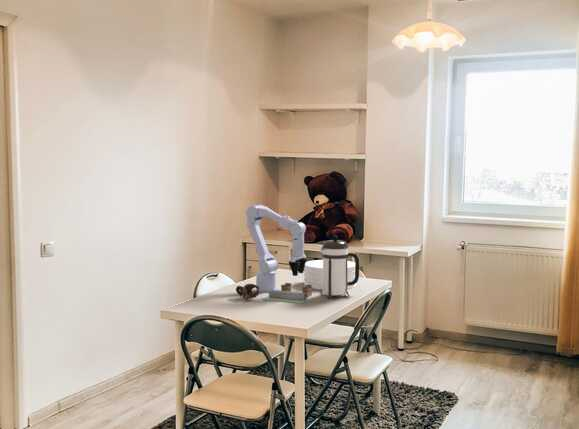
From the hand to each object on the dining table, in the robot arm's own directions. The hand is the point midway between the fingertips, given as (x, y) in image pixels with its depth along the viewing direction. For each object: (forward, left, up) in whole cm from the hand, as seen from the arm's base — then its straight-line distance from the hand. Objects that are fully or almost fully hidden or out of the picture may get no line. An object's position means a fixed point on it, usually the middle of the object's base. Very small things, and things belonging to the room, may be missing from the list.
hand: (298, 274), depth 311 cm
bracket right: (+6, -2, -10) cm, 12 cm away
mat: (-1, -14, -10) cm, 17 cm away
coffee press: (+19, +4, -10) cm, 22 cm away
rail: (0, -12, -8) cm, 15 cm away
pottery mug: (-18, -19, -10) cm, 28 cm away
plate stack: (+7, +29, -10) cm, 32 cm away
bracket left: (-6, -2, -10) cm, 12 cm away
